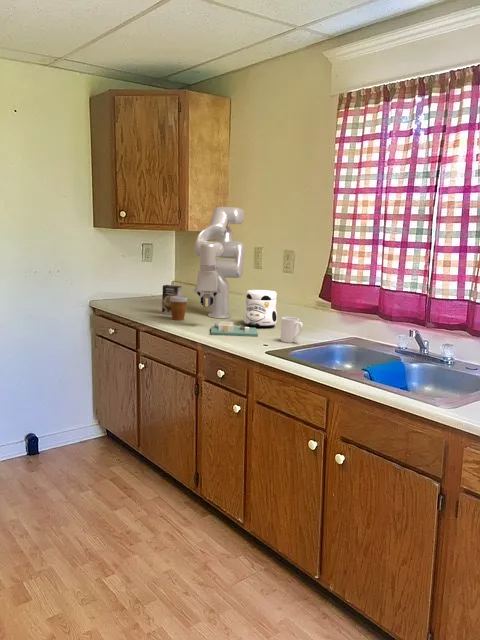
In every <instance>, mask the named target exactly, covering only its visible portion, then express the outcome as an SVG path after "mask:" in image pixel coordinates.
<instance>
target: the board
mask: <svg viewBox="0 0 480 640" xmlns="http://www.w3.org/2000/svg"><path fill="white" fill-rule="evenodd" d="M210 329H211V330H210V335H211V336H228V337H229V336H230V337H231V336H234V337H255V338H257V337H259V332H258V330H257V327H249V326H234V321H218V323H214V325H211V328H210Z"/></svg>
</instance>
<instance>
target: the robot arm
mask: <svg viewBox="0 0 480 640" xmlns="http://www.w3.org/2000/svg"><path fill="white" fill-rule="evenodd" d="M244 221H245V211H244V209H243V208H240V207H237V206H235V207H234V206H218V207H216V208H214V210H213V212H212V216H211V220H210V222H209V226H207V227H205V228H204V229H203V230H201V231H199V233H198V235H197V236H196V240H195V244H194V249H193V250H194V254H195V255H196V256H199V260H200V262H199V270H198V272H197V277H196V278H197V279H196V280H197V281H196V286H195V287H194V289H193V292H194V293H195V294H197V295H198V296H199V297H200V304H201V306H203V292H204V291H207V292H211V297H210V312H209V313H208V315H207V316H208V317H209V318H213V319H214V318H215V319H229V318H231V317H232V315H231V313H229V305H230V304H229V302H230V284H229V282H228V280H227V279H226V278H228V279H229V278H231V279H232V278H233V279H240V278H241V277H242V276H243V272H244V263H245V252H246V251H245V245H244V243H243V242H241V241H236V240H234V241H233V234H234V233H233V231H232V229H231V227H230V226H229V225H241V224H243V223H244ZM212 239H216V241H211V240H212ZM209 240H210V241H209ZM217 258H220V259H217ZM232 259H233V260H232Z"/></svg>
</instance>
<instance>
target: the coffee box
mask: <svg viewBox="0 0 480 640" xmlns="http://www.w3.org/2000/svg"><path fill="white" fill-rule="evenodd" d="M171 296H182V285H172V284H164V285H162V296H161V297H162V299H161V302H162V303H161V305H162V306H161V315H167V316H172V312H171V302H170V297H171Z"/></svg>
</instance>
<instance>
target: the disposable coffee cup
mask: <svg viewBox="0 0 480 640" xmlns="http://www.w3.org/2000/svg"><path fill="white" fill-rule="evenodd" d="M170 302H171V312H172V315H171V320H173V321H184V320H185V315H186V309H187V303H188V297H187V296H183V295H181V296H171V297H170Z"/></svg>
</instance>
